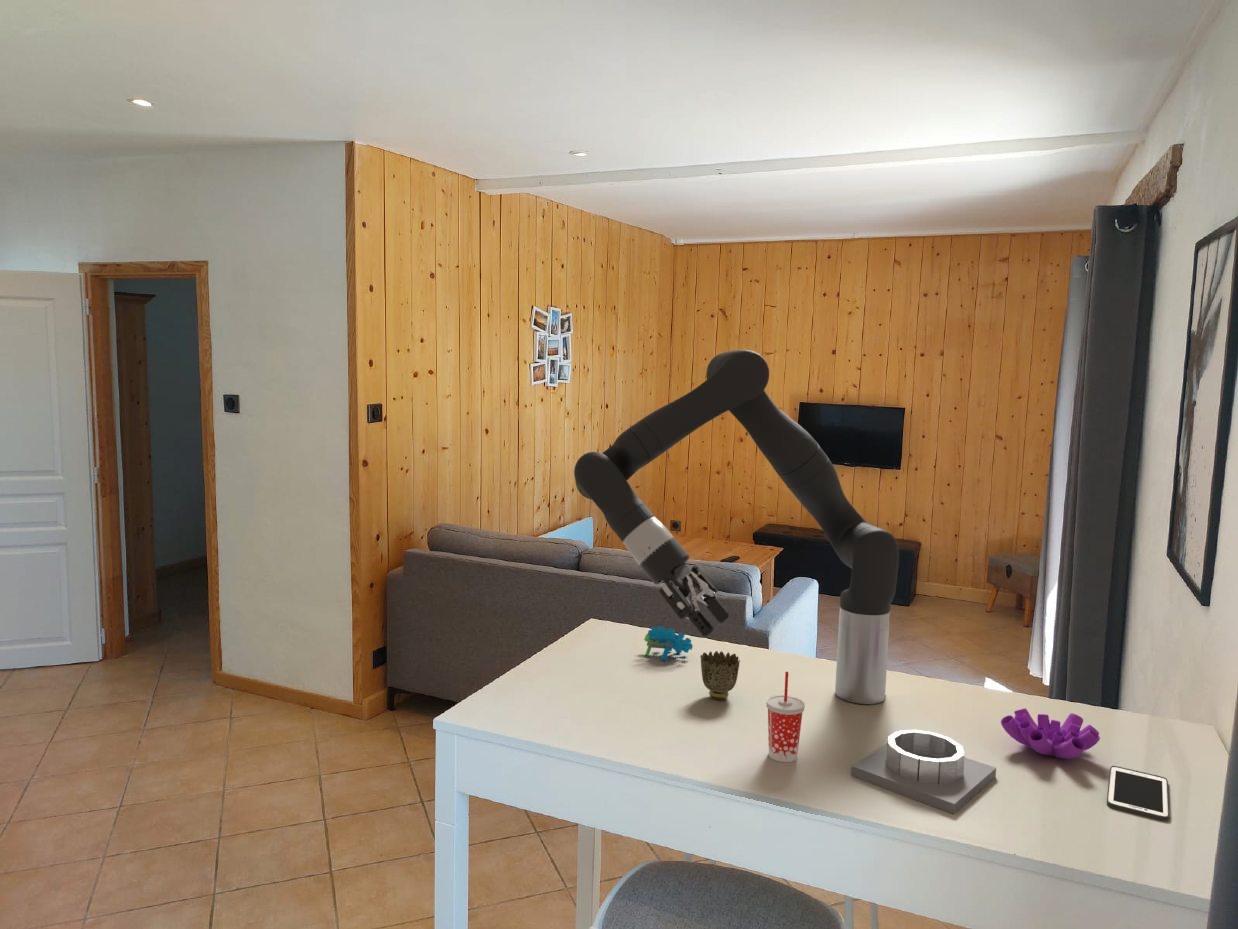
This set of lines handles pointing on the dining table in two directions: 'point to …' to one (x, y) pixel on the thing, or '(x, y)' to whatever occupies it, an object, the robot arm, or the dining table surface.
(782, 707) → the beverage cup
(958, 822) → the dining table surface
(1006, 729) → the purple tube coral
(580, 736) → the dining table surface
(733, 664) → the cup
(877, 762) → the flange board
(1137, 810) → the cell phone
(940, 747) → the collar
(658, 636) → the blue toy figure
